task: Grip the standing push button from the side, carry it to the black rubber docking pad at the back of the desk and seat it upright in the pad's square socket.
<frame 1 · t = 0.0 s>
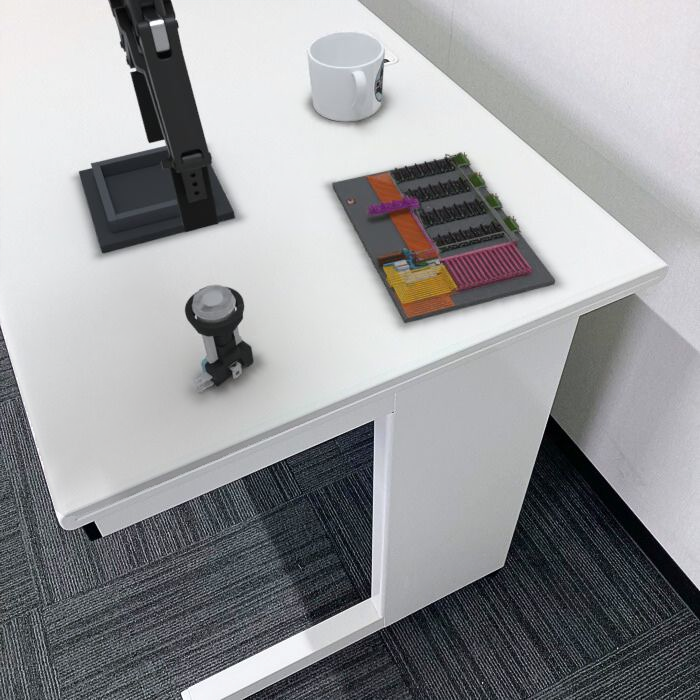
hand: (180, 179, 64), 19 cm above the table, tool pointing down, fingers open, 13 cm apart
push button: (224, 374, 74), on the table
circuit board: (435, 233, 87), on the table
docking pad: (155, 197, 93), on the table
mug: (349, 109, 105), on the table
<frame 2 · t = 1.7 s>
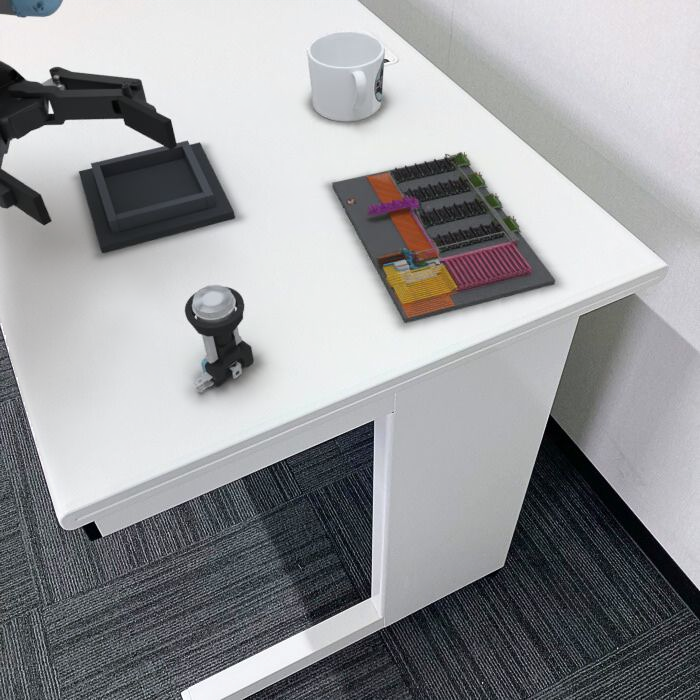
hand: (110, 170, 63), 20 cm above the table, tool horizontal, fingers open, 13 cm apart
nothing on the table moved.
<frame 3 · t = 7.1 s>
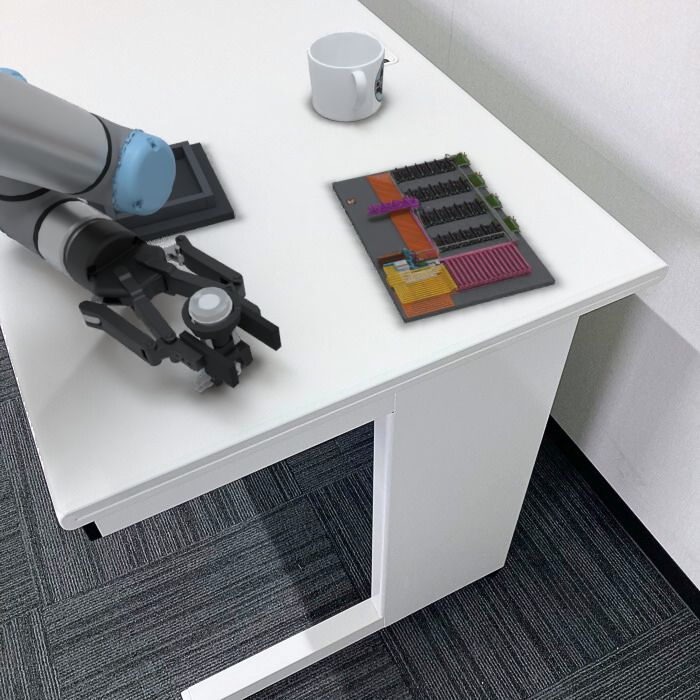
hand: (256, 357, 67), 6 cm above the table, tool horizontal, fingers closed on push button, 5 cm apart
push button: (223, 374, 74), on the table, touching gripper
everything else where it was.
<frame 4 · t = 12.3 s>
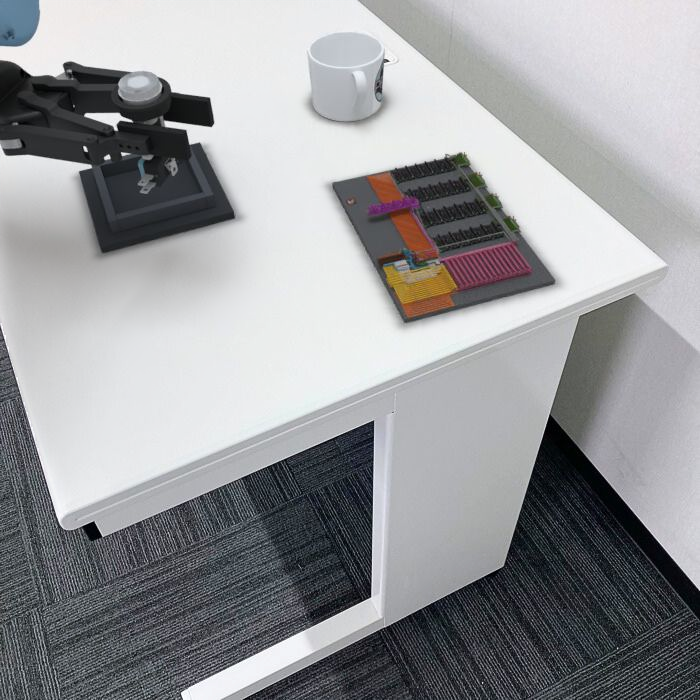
hand: (199, 128, 68), 19 cm above the table, tool horizontal, fingers closed on push button, 5 cm apart
push button: (159, 177, 74), point 13 cm above the table, touching gripper
everything else where it was.
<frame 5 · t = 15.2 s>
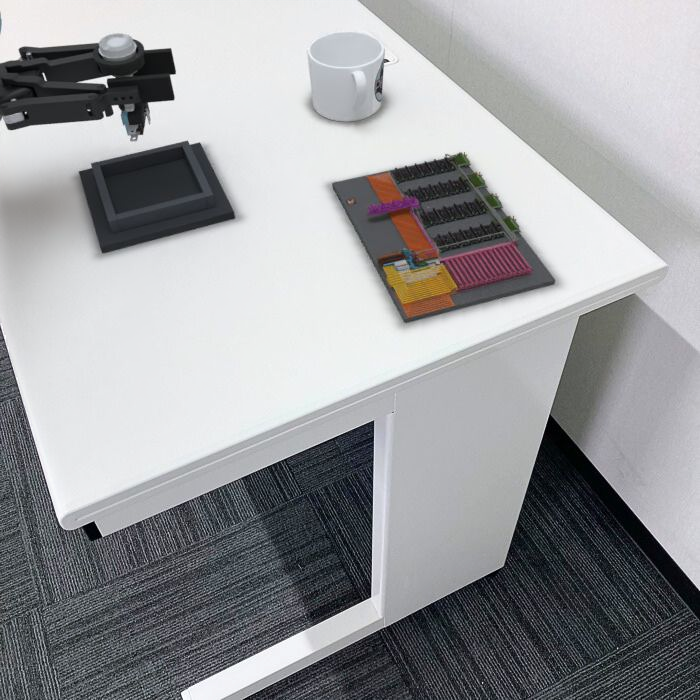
hand: (172, 73, 81), 16 cm above the table, tool horizontal, fingers closed on push button, 5 cm apart
push button: (137, 129, 85), point 10 cm above the table, touching gripper
everything else where it was.
when the fingers open (7 cm above the table, at t = 17.9 s): push button stays where it is, resting on docking pad.
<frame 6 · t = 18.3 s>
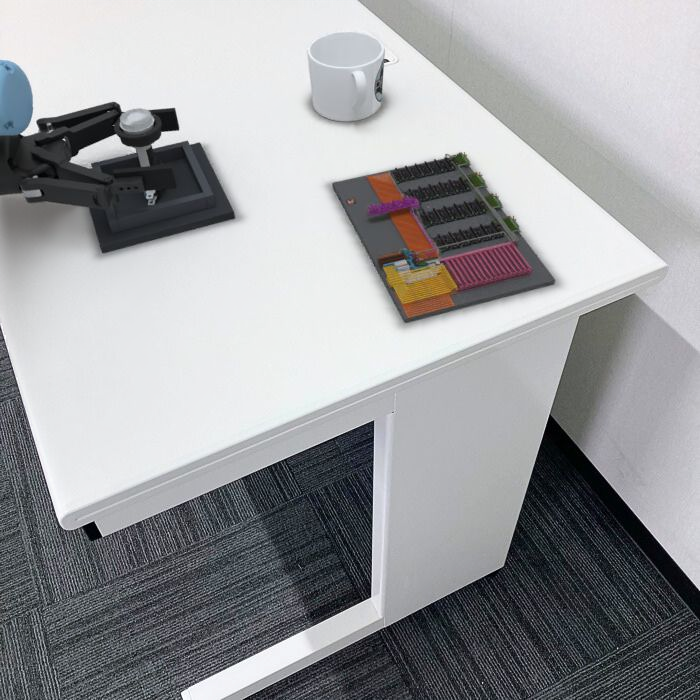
hand: (176, 146, 88), 7 cm above the table, tool horizontal, fingers open, 11 cm apart
push button: (154, 193, 92), point 1 cm above the table, touching docking pad
everything else where it was.
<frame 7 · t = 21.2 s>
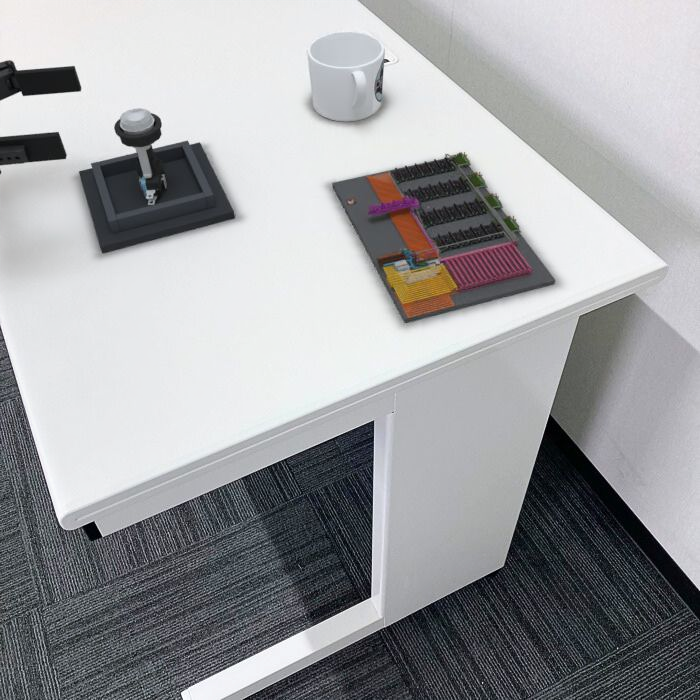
hand: (70, 110, 80), 14 cm above the table, tool horizontal, fingers open, 13 cm apart
nothing on the table moved.
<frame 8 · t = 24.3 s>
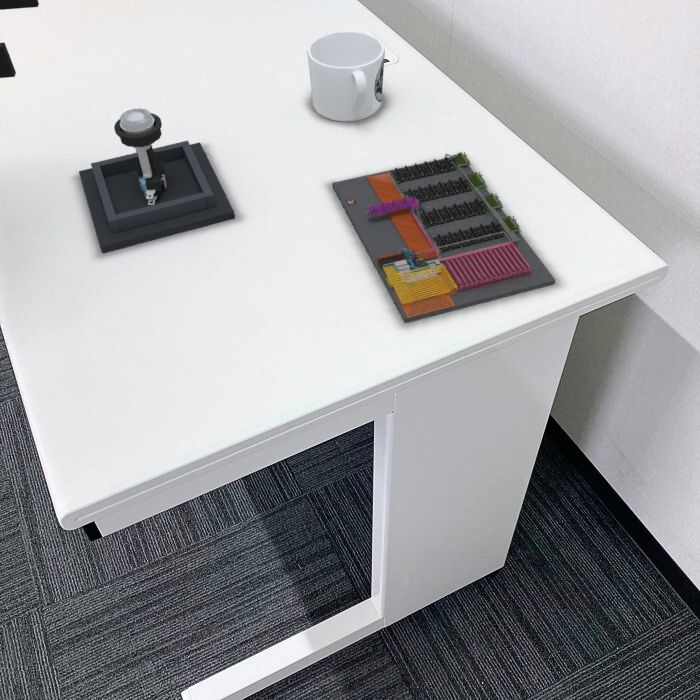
hand: (23, 23, 67), 26 cm above the table, tool horizontal, fingers open, 13 cm apart
nothing on the table moved.
at the end: push button 0.3 cm off-centre on the docking pad, point 0.8 cm above the docking pad's base; push button tilted 0°; the gripper is holding nothing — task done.
